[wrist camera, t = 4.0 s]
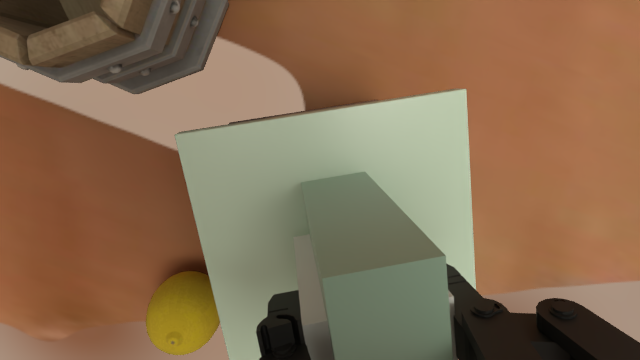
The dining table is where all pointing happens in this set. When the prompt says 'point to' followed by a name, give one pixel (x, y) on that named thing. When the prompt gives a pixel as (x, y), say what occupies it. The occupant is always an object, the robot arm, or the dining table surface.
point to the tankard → (111, 39)
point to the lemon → (182, 313)
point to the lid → (339, 220)
